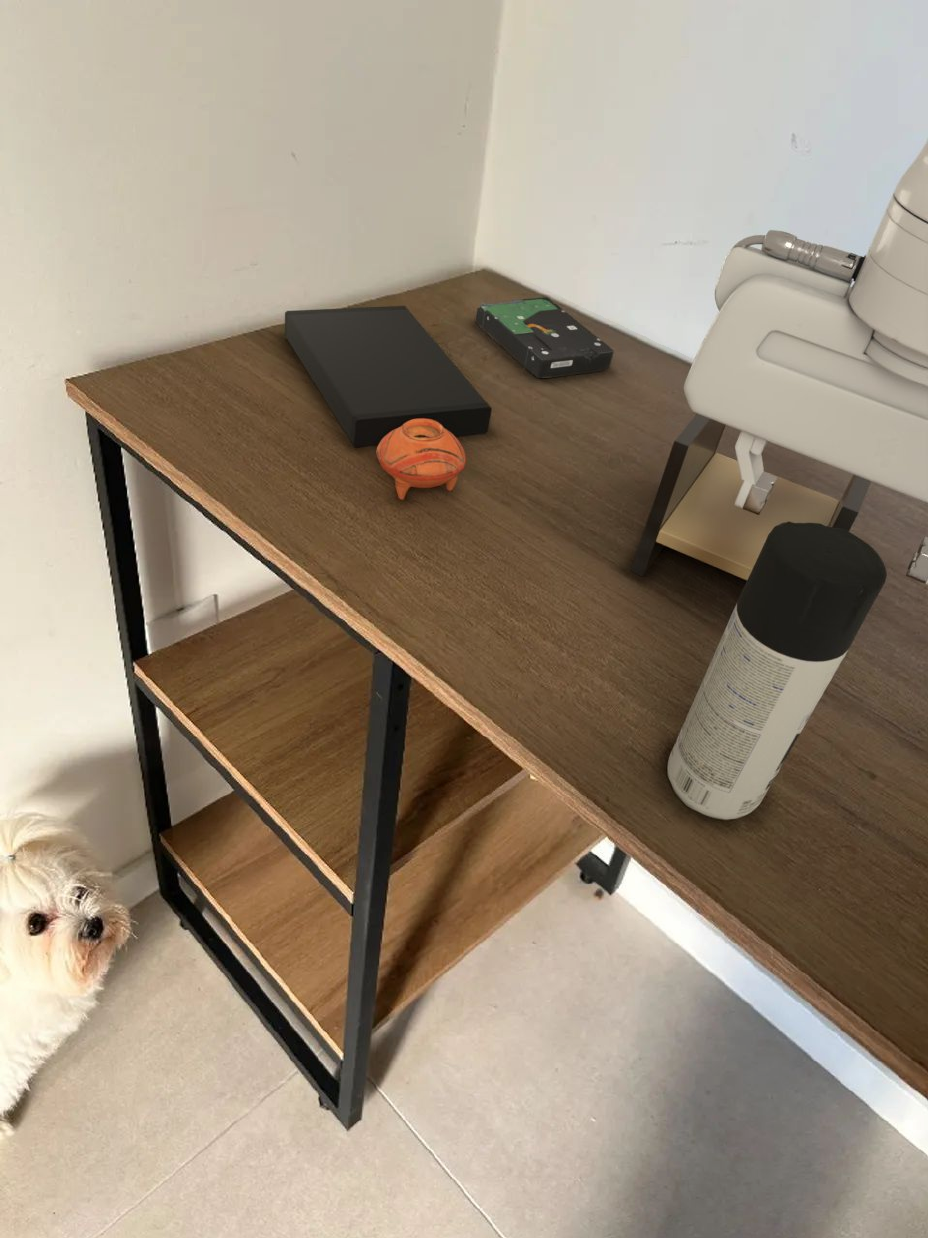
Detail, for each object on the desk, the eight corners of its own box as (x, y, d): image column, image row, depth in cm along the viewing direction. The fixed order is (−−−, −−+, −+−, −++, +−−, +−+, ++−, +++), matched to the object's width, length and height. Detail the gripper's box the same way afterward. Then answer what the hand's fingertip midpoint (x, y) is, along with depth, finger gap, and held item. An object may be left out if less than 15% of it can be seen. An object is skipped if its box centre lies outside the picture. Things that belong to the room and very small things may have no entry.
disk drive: (610, 372, 109) (542, 315, 117) (616, 350, 107) (547, 294, 116) (537, 383, 104) (472, 323, 113) (542, 360, 102) (475, 300, 111)
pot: (444, 521, 81) (436, 451, 77) (367, 507, 84) (355, 438, 80) (483, 478, 86) (478, 410, 82) (410, 466, 90) (401, 400, 85)
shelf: (831, 549, 87) (903, 406, 77) (791, 642, 76) (870, 489, 66) (687, 491, 91) (739, 348, 81) (629, 571, 80) (681, 417, 70)
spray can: (770, 829, 61) (910, 599, 48) (670, 818, 61) (783, 583, 47) (749, 751, 66) (870, 523, 53) (656, 740, 66) (755, 508, 52)
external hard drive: (353, 447, 88) (355, 419, 86) (284, 336, 103) (284, 310, 101) (487, 433, 94) (492, 406, 92) (403, 329, 109) (406, 305, 107)
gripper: (719, 233, 41) (634, 491, 50) (1220, 398, 36) (1022, 654, 45) (756, 202, 46) (671, 444, 55) (1207, 345, 40) (1029, 588, 49)
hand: (832, 540), depth 50 cm, fingers open, 8 cm apart
